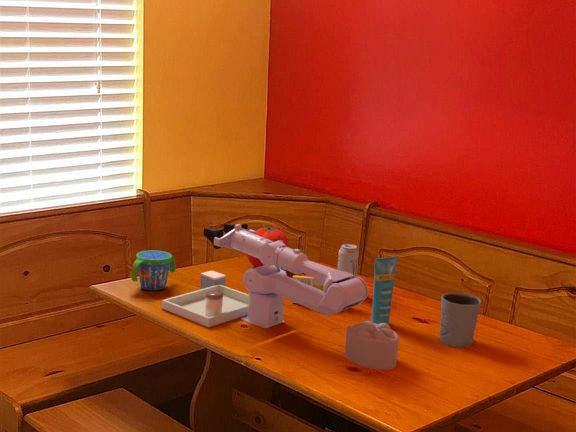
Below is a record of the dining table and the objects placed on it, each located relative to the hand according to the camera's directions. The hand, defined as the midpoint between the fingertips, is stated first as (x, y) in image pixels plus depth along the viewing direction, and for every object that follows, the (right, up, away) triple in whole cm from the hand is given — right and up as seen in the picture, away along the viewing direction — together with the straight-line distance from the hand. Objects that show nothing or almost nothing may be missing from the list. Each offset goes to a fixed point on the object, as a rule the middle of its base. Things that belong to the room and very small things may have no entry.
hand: (214, 229), depth 234 cm
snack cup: (-20, -18, +15) cm, 31 cm away
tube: (+46, -26, -4) cm, 53 cm away
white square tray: (0, -23, -1) cm, 23 cm away
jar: (0, -24, -8) cm, 25 cm away
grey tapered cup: (+65, -30, -13) cm, 73 cm away
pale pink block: (-2, -19, +16) cm, 25 cm away
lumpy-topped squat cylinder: (+41, -32, -28) cm, 59 cm away
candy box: (+30, -22, +9) cm, 38 cm away
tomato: (+13, -14, +41) cm, 45 cm away
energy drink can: (+38, -20, +20) cm, 47 cm away
